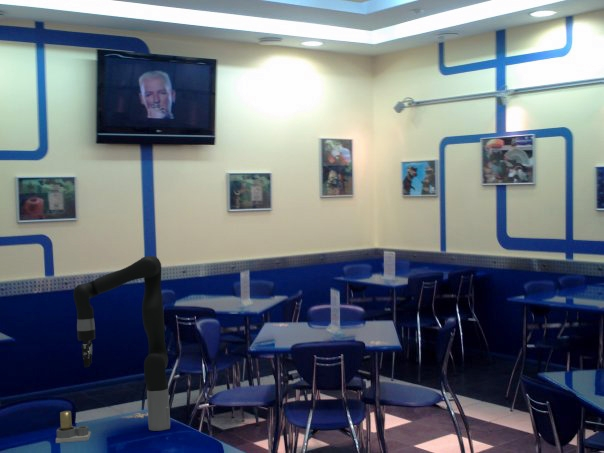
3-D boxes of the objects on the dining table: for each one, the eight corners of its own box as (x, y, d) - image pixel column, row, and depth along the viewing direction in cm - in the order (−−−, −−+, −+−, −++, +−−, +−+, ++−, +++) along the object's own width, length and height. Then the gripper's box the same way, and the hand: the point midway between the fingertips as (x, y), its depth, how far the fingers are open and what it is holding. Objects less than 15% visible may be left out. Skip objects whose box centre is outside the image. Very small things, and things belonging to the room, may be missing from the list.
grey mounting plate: (90, 434, 332) (90, 424, 332) (88, 440, 323) (87, 429, 323) (59, 437, 330) (58, 426, 330) (55, 443, 321) (55, 432, 321)
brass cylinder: (73, 433, 328) (71, 410, 328) (71, 436, 324) (70, 413, 324) (62, 434, 328) (61, 411, 327) (60, 437, 323) (59, 414, 323)
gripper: (92, 330, 334) (94, 367, 334) (96, 326, 348) (98, 362, 348) (74, 331, 333) (76, 369, 333) (79, 327, 347) (81, 363, 347)
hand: (88, 365), depth 341 cm, fingers open, 8 cm apart
